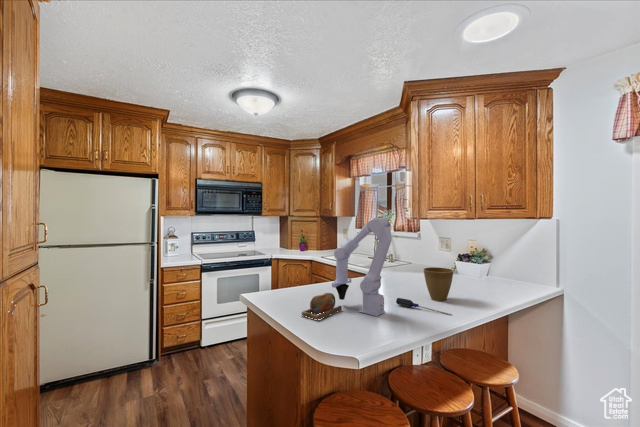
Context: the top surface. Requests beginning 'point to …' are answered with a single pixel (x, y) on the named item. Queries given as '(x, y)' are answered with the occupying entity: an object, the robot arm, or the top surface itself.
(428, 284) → the plant pot
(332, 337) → the top surface
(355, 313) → the top surface
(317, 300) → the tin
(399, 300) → the screwdriver
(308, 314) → the brown beaded frame
